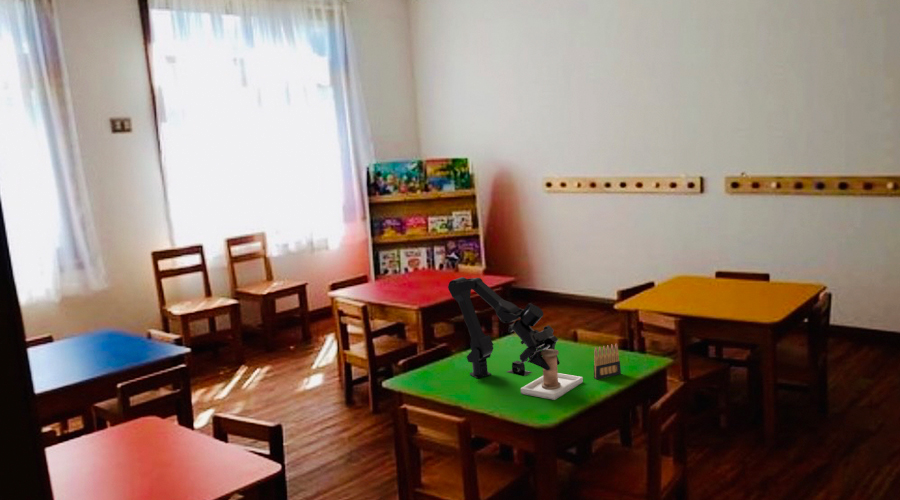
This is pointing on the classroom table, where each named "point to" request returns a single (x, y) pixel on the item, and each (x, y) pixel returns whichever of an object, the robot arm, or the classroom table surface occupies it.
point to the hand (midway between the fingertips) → (554, 366)
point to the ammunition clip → (606, 362)
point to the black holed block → (518, 369)
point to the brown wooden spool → (552, 374)
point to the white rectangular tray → (566, 385)
